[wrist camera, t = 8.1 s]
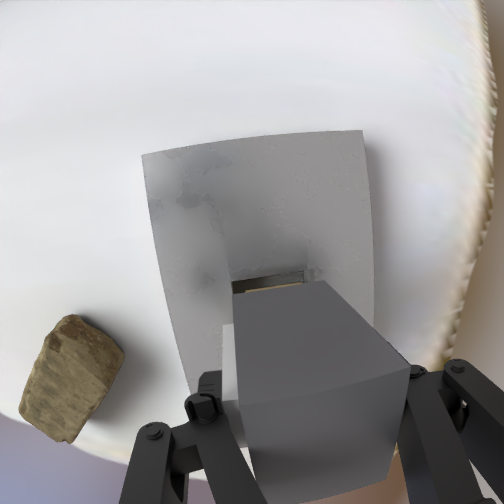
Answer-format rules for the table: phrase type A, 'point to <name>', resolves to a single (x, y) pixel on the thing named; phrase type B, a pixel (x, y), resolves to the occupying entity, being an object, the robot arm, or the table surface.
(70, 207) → the table surface
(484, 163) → the table surface
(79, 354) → the stone block
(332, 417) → the plug
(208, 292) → the socket plate
